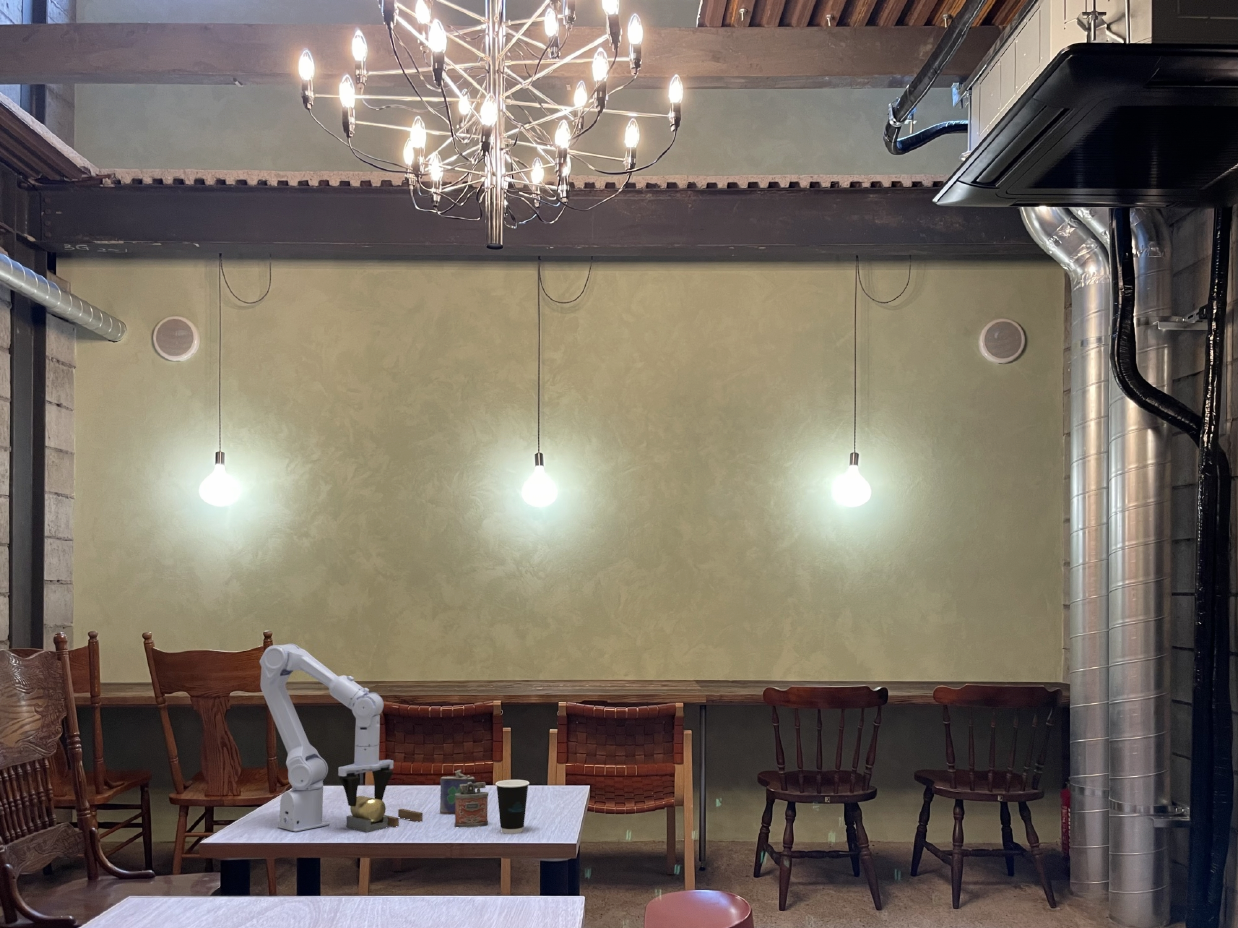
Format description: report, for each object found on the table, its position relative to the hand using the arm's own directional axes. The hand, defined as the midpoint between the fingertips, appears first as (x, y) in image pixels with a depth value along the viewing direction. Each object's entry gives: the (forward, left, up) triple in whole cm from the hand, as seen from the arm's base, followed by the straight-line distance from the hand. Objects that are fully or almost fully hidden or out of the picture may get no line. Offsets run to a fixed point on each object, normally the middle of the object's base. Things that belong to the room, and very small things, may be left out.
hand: (365, 803), depth 240 cm
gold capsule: (0, -1, -4) cm, 4 cm away
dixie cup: (+19, -31, -6) cm, 37 cm away
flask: (+24, -6, -6) cm, 25 cm away
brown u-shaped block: (+9, -2, -6) cm, 10 cm away
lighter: (+17, -19, -6) cm, 26 cm away
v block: (0, -1, -6) cm, 6 cm away
